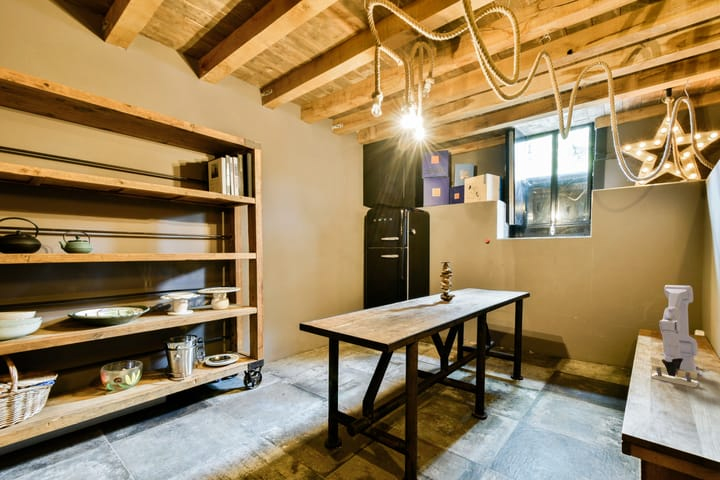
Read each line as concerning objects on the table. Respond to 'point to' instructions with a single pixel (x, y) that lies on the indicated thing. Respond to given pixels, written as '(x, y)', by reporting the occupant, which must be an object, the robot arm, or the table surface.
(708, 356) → the table surface
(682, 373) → the wooden bar
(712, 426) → the table surface
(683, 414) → the table surface
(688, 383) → the hook stand
